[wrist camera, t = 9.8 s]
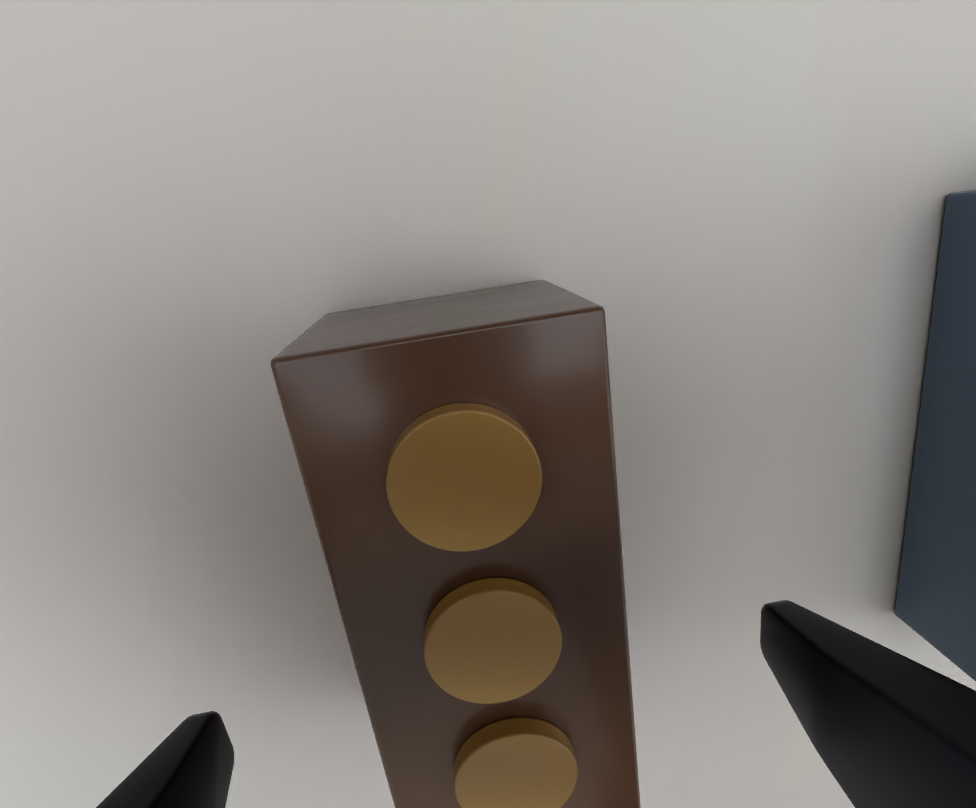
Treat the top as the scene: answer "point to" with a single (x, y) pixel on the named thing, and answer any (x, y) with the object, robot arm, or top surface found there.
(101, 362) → the top surface
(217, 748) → the robot arm
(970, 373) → the dial panel
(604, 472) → the token holder
